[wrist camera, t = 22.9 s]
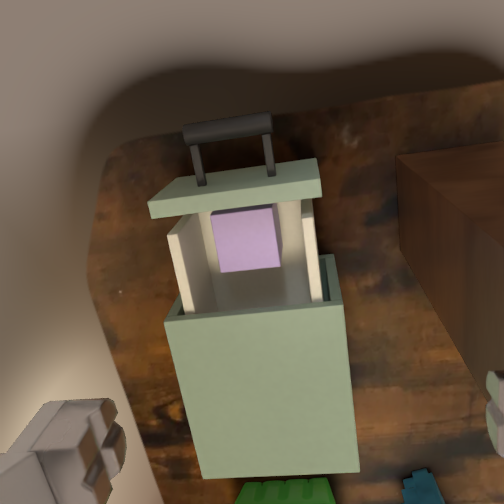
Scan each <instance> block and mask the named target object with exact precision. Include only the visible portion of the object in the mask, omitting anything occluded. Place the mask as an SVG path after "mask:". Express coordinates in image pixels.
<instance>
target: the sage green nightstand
mask: <svg viewBox="0 0 504 504" xmlns="http://www.w3.org/2000/svg"><path fill="white" fill-rule="evenodd" d="M318 256H319V264H320V273H321V281H322V290H323V299H324V302H315V303H304V304H294V305H284V306H274V307H263V308H253V309H243V310H232V311H222V312H212V313H201V314H191V315H185V312H184V307H183V303H182V299H181V294H180V293H179V295H178V297H177V298H176V300H175V302H174V304H173V306H172V307H171V309H170V311H169V313H168V315H167V317H166V318H165V320H164V326H165V330H166V334H167V338H168V342H169V346H170V350H171V354H172V358H173V362H174V366H175V370H176V374H177V378H178V382H179V386H180V390H181V394H182V398H183V402H184V406H185V410H186V414H187V417H188V421H189V425H190V429H191V433H192V437H193V441H194V445H195V449H196V453H197V457H198V461H199V465H200V469H201V473H202V477H203V479H216V478H239V477H263V476H286V475H309V474H332V473H355V472H360V465H359V455H358V445H357V435H356V425H355V415H354V405H353V395H352V386H351V376H350V366H349V356H348V346H347V336H346V326H345V316H344V306H343V301H342V295H341V290H340V285H339V279H338V274H337V269H336V263H335V258H334V254H327V255H318Z"/></svg>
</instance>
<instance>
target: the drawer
mask: <svg viewBox="0 0 504 504" xmlns="http://www.w3.org/2000/svg"><path fill="white" fill-rule="evenodd" d="M271 133H273V121H272V115H271V112H270V111H267V112H261V113H255V114H248V115H242V116H236V117H229V118H223V119H217V120H211V121H204V122H198V123H192V124H186V125H183V137H184V141H185V143H186V145H190V151H191V156H192V161H193V166H194V171H195V175H192V176H185V177H178V178H176V179H174V180H173V181H172V182H171V183H170V184H168V185H167V186H166V187H165V188H164V189H162V190H161V191H160V192H159V193H158V194H156V195H155V196H154V197H153V198H152V199H150V200H149V201H148V202H147V203H148V207H149V211H150V215H151V219H155V218H162V217H170V216H178V215H183V217H182V218H181V219H180V220H179V221H178V223H177V224H176V225H175V226H174V227H173V229H172V230H171V231H170V232H169V233H168V235H167V238H168V243H169V247H170V251H171V256H172V260H173V264H174V269H175V273H176V277H177V282H178V286H179V290H180V294H181V299H182V303H183V307H184V312H185V315H191V314H201V313H212V312H222V311H232V310H243V309H253V308H263V307H274V306H284V305H294V304H304V303H315V302H324V299H323V290H322V281H321V273H320V264H319V256H318V247H317V239H316V230H315V221H314V213H313V204H312V198H317V197H322V190H321V181H320V175H319V170H318V165H317V160H316V158H312V159H305V160H298V161H291V162H284V163H277V164H275V159H274V152H273V145H272V138H271ZM260 134H262V142H263V148H264V155H265V162H266V165H263V166H256V167H249V168H241V169H234V170H227V171H220V172H213V173H206V174H205V170H204V165H203V159H202V154H201V149H200V144H201V143H208V142H214V141H221V140H227V139H234V138H240V137H247V136H254V135H260ZM270 203H277V208H278V215H279V222H280V229H281V236H282V243H283V248H282V258H281V266H280V267H271V268H262V269H253V270H243V271H234V272H225V273H221V271H220V266H219V261H218V256H217V251H216V245H215V240H214V235H213V230H212V225H211V220H210V215H211V213H212V212H213V211H216V210H224V209H232V208H240V207H247V206H255V205H263V204H270Z"/></svg>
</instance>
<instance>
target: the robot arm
mask: <svg viewBox="0 0 504 504" xmlns="http://www.w3.org/2000/svg"><path fill="white" fill-rule="evenodd" d="M486 388H487V390H488V392H489V393H490V395H491V397H492V399H491V400H490V401H489V402H488V403H487V404H486V423H487V428H488V433H489V436H490V439H491V442H492V444H493V446H494V448H495V450H496V452H497V454H499V455H500V456H502V457H503V458H504V370H493V371H488V374H487V377H486ZM117 414H118V412H117V409H116V406H115V403H114V401H113V400H111V399H109V398H101V399H80V400H69V401H67V400H64V401H50V402H48V403H45V404H43V406H42V407H41V408H40V409H39V411H38V412H37V413H36V415H35V416H34V417H33V419H32V420H31V421H30V422H29V424H28V425H27V426H26V428H25V429H24V430H23V432H22V433H21V434H20V435H19V437H18V438H17V439H16V441H15V442H14V443H13V445H12V446H11V447H10V448H9V450H8V451H7V453H1V454H0V504H106V503H107V501H108V498H109V496H110V494H111V491H112V489H113V488H112V485H111V483H110V480H111V479H112V478H114V477H115V476H116V475H117V474H118V473H119V472H120V471H121V469H122V466H123V464H124V461H125V455H126V448H127V447H126V437H125V434H124V431H123V428H122V427H121V426H120V425H118V424H117V423H116V422H115V421H114V420H115V418H116V416H117Z"/></svg>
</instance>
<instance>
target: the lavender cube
mask: <svg viewBox="0 0 504 504" xmlns="http://www.w3.org/2000/svg"><path fill="white" fill-rule="evenodd" d="M210 220H211V225H212V230H213V235H214V240H215V245H216V251H217V256H218V261H219V266H220V271H221V273H225V272H234V271H243V270H253V269H262V268H271V267H280V266H281V258H282V248H283V243H282V236H281V229H280V222H279V215H278V208H277V203H270V204H263V205H255V206H247V207H240V208H232V209H224V210H216V211H213V212H212V213H211V215H210Z"/></svg>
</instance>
